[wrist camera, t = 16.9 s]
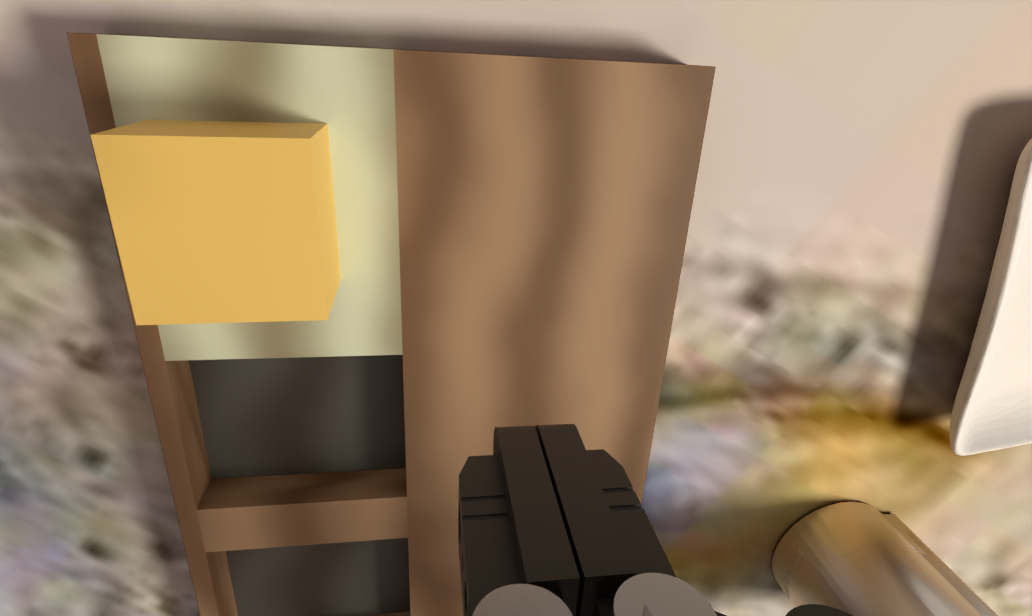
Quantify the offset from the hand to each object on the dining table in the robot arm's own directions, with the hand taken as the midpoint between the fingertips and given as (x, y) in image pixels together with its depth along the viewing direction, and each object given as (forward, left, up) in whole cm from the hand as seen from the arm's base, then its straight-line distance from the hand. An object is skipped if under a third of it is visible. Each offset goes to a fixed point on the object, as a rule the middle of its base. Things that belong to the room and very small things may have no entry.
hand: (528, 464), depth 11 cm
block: (+9, -1, -18) cm, 20 cm away
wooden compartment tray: (+2, +11, -21) cm, 24 cm away
